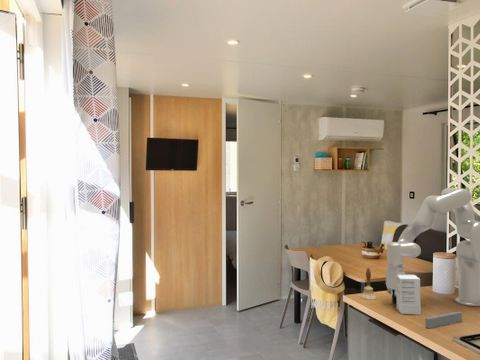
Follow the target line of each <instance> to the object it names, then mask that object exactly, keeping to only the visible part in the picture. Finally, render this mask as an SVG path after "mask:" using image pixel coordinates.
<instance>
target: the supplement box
mask: <svg viewBox="0 0 480 360" xmlns="http://www.w3.org/2000/svg"><path fill="white" fill-rule="evenodd" d="M396 286H397V291H396V296H397V304H396V309H397V310H398V312H399V313H400V314H403V315H422V309H421V308H422V307H421V306H422V305H421V279H420V277H418V276H417V275H416V274H405V275H396Z"/></svg>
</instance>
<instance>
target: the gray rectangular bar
mask: <svg viewBox="0 0 480 360" xmlns="http://www.w3.org/2000/svg"><path fill="white" fill-rule="evenodd" d="M424 320H425V328H426V329H428V328H429V329H432V328H433V329H434V328H437V327H438V328H439V327H442V326H447V325H452V324H456V323H461V322H463V313H462V312H461V311H454V312H453V311H452V312H449V313H444V314H440V315H434V316H429V317H425V319H424Z"/></svg>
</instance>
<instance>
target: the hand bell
mask: <svg viewBox="0 0 480 360" xmlns="http://www.w3.org/2000/svg"><path fill="white" fill-rule="evenodd" d="M371 273H372V271H371V270H370V268H369V267H368V268H366V271H365V277H366V286H364V288H363V293H362V294H361V295H360V298H361V299H363V300H367V301H368V300H369V301H374V300H377V296H376V295H375V293H374V288H373V287H371V278H372V274H371Z"/></svg>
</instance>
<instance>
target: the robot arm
mask: <svg viewBox="0 0 480 360" xmlns="http://www.w3.org/2000/svg"><path fill="white" fill-rule="evenodd" d="M471 200H472V193H471V191H469V190H468V189H466V188H459V187H458V188H457V187H446V188H444V189H443V190H442V191H441V194H440V195H429V196H426V198H424V199H423V202H422V203H421V205H420V208H419V209H418V211H417V213H416V215H415V217H414V219H413V221H412V222H410V223H409V224H408V225H407V226H406V227H405V228H404V229H403V231H402V233H401V234H400V236H399V238H398V240H397V241H390V242H388V243H387V245H386V257H387V258H386V259H387V260H386V262H387V263H386V264H387V268H386V274H385V285H386V289H387V290H388V291H389V290H390V291H389V292H390V294H391V303H392V304H394V305H397V296H396V291H397V286H396V275H406V272H405V267H404V258H417V257H418V256H420V255H421V253H422V250H421V247H420V245H419V244H417V243H415V242H414V241H415V239H416V238H417V237H418V236H419V235H420V234H421V233H424V232H425V231H428V230H430V229H431V228H432V226H433V224H434V221H435V220H436V217H437V216H438V214H446V213H449V212H452V211H453V212H454V215H455V225H456V232H457V234H458V236H459V237H461V238H464V239H467V240H462V241H460V242H458V243H457V244H456V247H455V251H456V252H455V253H456V258H457V264H458V265H457V267H458V269H457V270H458V275H457V276H458V296H457V297H456V298H455V302H456V303H458V304H460V305H464V306H471V307H480V221H477V220H476V218H475V213H474V212H475V211H474V208H473V205H472V203H471Z"/></svg>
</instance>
